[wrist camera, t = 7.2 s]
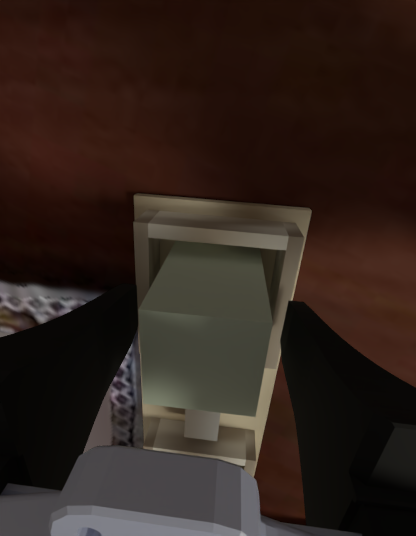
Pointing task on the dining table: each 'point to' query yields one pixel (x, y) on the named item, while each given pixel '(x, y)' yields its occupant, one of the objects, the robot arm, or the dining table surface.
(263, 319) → the pale green block
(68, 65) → the dining table surface
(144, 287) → the rail
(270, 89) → the dining table surface
